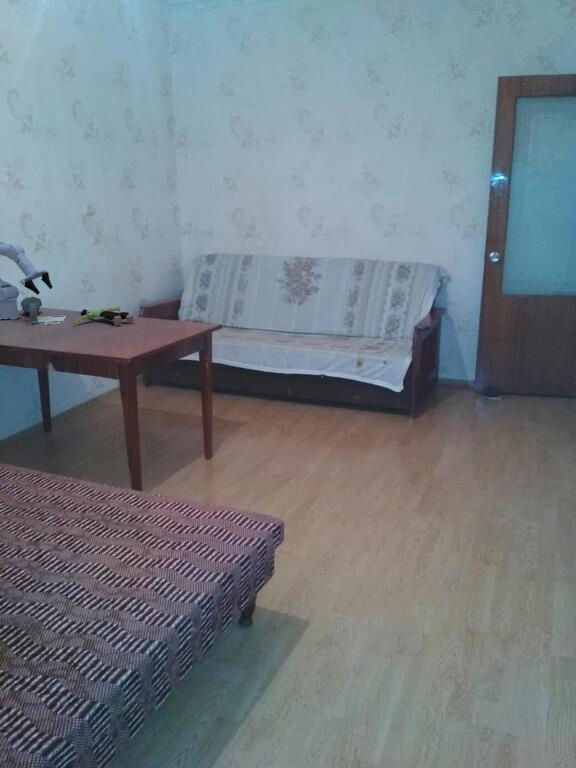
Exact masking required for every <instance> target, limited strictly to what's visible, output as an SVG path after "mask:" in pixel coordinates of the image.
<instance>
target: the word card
mask: <svg viewBox="0 0 576 768" xmlns="http://www.w3.org/2000/svg"><path fill="white" fill-rule="evenodd" d="M43 323H44V324H43V325H44V326H45V325H46V326H48V324H52V325H60V324H61V321H59V322H43Z"/></svg>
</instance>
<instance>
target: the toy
mask: <svg viewBox="0 0 576 768" xmlns="http://www.w3.org/2000/svg"><path fill="white" fill-rule="evenodd" d="M120 311H121V307H120V306H118V307H117V306H114V307H113V306H112V307H109V308H103V309H100V310H99V309H97V310H96V309H95V310H92V309H91V310H87V309H85V308H84V309H83V310H82V311H81V312H80V317H79V318H77V319H75V320H74V322H71V324H72V326H74V327H78V325H80V324H79V323H80V322H81V323H82V322H83V321H86V320H89V319H90V320H94V318H103V319H105V320H107V321H113V324H114V326H115V327H116V326H121V325H122V323H123V322H122V320H126V323H127V325H131V324H133V322H134V315H133V314H130V313H129V312H128V311H121V312H120Z"/></svg>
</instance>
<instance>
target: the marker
mask: <svg viewBox="0 0 576 768" xmlns="http://www.w3.org/2000/svg"><path fill="white" fill-rule="evenodd" d="M29 312H30V314H29V318H30V325H31V324H37V325H39V322H38V318H37V317H38V312H37V309H36V305H35V304H29Z"/></svg>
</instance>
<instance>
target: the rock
mask: <svg viewBox="0 0 576 768" xmlns="http://www.w3.org/2000/svg"><path fill="white" fill-rule="evenodd" d="M29 304H35V305H36V309H37V313H38V312H39V311H40V308H41V307H42V306H43V303H42V299H40V298H39V297H35V296H31V297H29V296H27V297H25V298H23V299H22V300H21V302H20V306H21V309H22V311H23V312H24V313H26V314H28V315H30V312H29Z"/></svg>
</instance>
